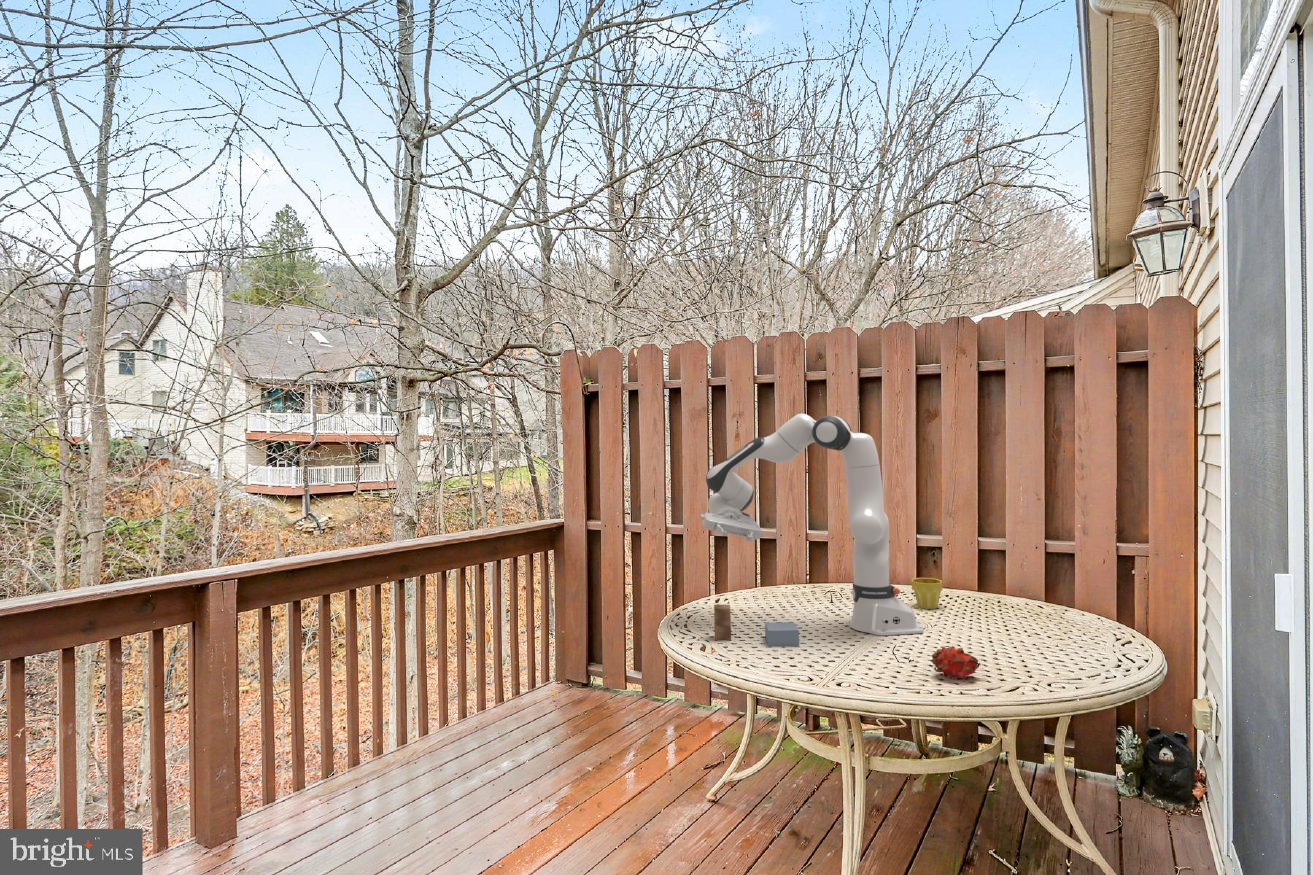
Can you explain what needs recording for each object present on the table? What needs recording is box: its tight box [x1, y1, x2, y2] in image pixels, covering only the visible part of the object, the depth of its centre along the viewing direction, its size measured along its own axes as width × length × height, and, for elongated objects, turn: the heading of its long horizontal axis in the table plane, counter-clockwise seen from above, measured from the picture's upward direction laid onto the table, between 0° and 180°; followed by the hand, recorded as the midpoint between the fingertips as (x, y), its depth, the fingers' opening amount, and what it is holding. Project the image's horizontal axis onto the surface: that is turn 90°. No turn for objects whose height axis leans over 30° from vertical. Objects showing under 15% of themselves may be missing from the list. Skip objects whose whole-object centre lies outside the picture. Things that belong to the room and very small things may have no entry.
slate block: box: [764, 621, 800, 647], centre depth 197 cm, size 9×9×5 cm
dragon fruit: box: [931, 645, 981, 681], centre depth 164 cm, size 8×8×12 cm
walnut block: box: [713, 604, 732, 642], centre depth 202 cm, size 5×5×10 cm
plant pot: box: [911, 577, 943, 610], centre depth 234 cm, size 10×10×10 cm
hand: (737, 536), depth 210 cm, fingers open, 8 cm apart
